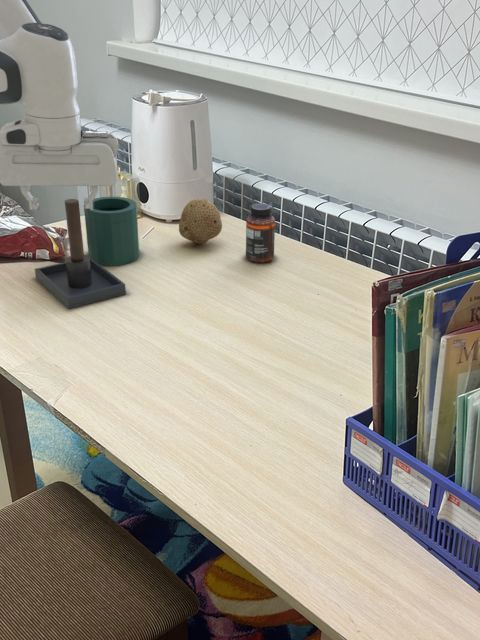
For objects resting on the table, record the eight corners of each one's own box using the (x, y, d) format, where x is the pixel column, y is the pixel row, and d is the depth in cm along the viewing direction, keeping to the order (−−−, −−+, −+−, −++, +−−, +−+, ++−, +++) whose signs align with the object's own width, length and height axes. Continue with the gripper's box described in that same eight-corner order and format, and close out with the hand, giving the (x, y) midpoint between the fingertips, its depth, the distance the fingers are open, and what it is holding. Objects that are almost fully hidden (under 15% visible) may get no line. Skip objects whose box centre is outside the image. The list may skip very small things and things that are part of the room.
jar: (80, 252, 144) (75, 201, 139) (124, 243, 150) (121, 193, 144) (102, 269, 137) (97, 216, 132) (147, 258, 143) (145, 207, 137)
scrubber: (64, 282, 130) (54, 199, 122) (86, 277, 133) (78, 195, 124) (74, 290, 127) (64, 206, 119) (96, 285, 130) (88, 202, 121)
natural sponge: (230, 243, 152) (231, 199, 147) (204, 255, 145) (204, 209, 140) (199, 233, 156) (199, 190, 151) (172, 244, 150) (171, 199, 145)
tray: (36, 278, 132) (34, 268, 131) (90, 266, 138) (89, 256, 137) (68, 309, 122) (67, 298, 121) (126, 294, 128) (125, 283, 127)
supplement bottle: (268, 251, 149) (270, 200, 143) (277, 262, 144) (280, 209, 138) (241, 254, 147) (243, 202, 141) (250, 265, 142) (251, 211, 136)
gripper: (117, 126, 121) (121, 203, 128) (-6, 124, 118) (5, 203, 125) (117, 135, 116) (121, 214, 123) (-12, 133, 112) (0, 215, 119)
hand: (62, 209), depth 124 cm, fingers open, 8 cm apart
